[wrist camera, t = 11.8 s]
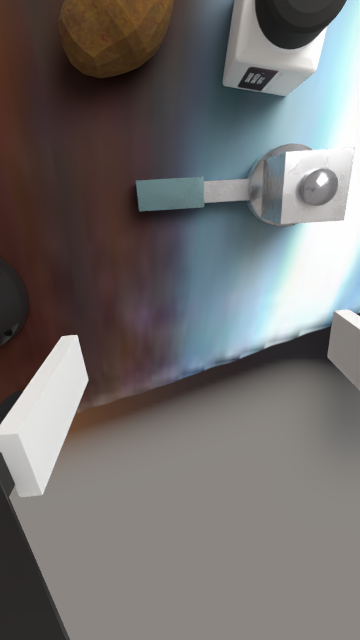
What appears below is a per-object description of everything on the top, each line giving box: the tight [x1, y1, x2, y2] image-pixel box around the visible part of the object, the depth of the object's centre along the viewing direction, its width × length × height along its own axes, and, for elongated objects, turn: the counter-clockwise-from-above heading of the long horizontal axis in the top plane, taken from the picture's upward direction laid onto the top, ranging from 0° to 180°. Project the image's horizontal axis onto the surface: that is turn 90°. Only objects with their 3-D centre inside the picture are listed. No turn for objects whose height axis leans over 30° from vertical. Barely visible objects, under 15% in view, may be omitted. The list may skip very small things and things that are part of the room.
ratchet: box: [136, 144, 312, 227], centre depth 35 cm, size 22×9×8 cm, turn 93°
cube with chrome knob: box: [261, 148, 355, 224], centre depth 32 cm, size 6×6×8 cm
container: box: [223, 0, 347, 96], centre depth 27 cm, size 8×8×13 cm
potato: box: [58, 0, 174, 78], centre depth 28 cm, size 8×12×8 cm, turn 127°
